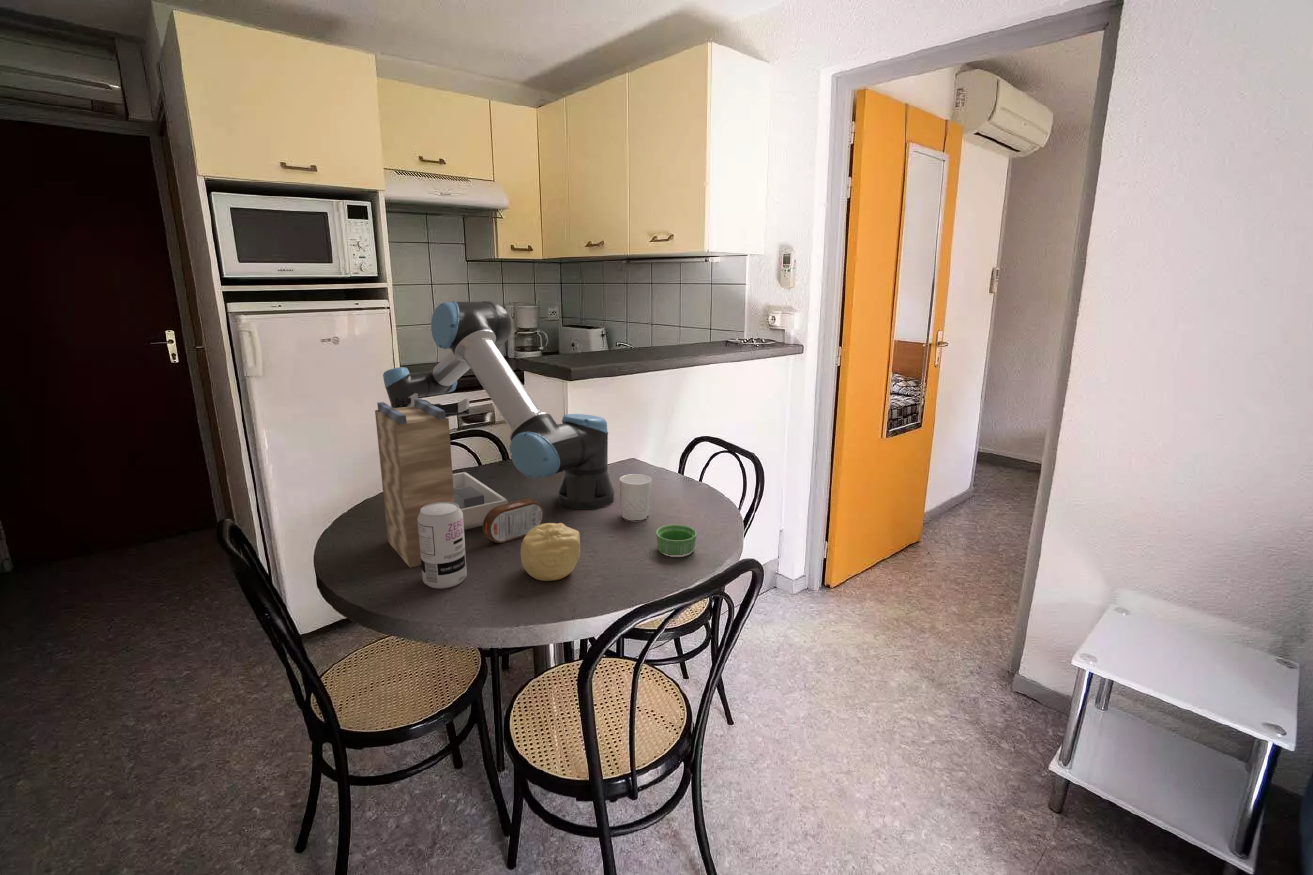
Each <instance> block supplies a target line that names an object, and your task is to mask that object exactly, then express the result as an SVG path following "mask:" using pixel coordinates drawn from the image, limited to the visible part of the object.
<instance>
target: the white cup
mask: <svg viewBox="0 0 1313 875" xmlns="http://www.w3.org/2000/svg"><path fill="white" fill-rule="evenodd" d="M651 492H652V478H651V476H648V475H646V474H641V473H640V474H639V473H631V474H624V475H622V476H621V477H619V495H620V496H619V497H620V508H621V518H622V517H623V518H625V519H628V520H641V519H644V518H646V517H647V516H648V515H649V516H650V506H651V505H650V504H651ZM623 518H622V519H623ZM625 519H624V520H625ZM628 520H627V521H628Z"/></svg>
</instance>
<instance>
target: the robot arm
mask: <svg viewBox="0 0 1313 875" xmlns="http://www.w3.org/2000/svg"><path fill="white" fill-rule="evenodd" d="M512 328H513V322H512V319H511V315H510V314H509V313H508V311H507V310H506V309H505V308H504V306H502V305H500V304H499V303H496V302H493V301H490V300H489V301H487V300H486V301H485V300H483V301H454V300H453V301H450V302H442V303H440V304H438V305H437V306H436V307H435V309H434V310H433V313H432V316H431V319H430V332H431V336H432V339H433V342H434V343H435V345H436V346H437V347H438V348H440V349H443V350H447V349H449V350H451V351H449V353H447V354H446V355H445V356H444V358H442V359H441V360H440V361H439V362H438V363H437V364H436V365H435V366H434V367H433V368H432V369H430V370H429V371H422V372H412V373H411V372H410V371H409V369H408V368H407V367H404V366H400V367H395V368H392V369H391V368H390V369H387V370H386V371H384V372H383V374H382V378H383V382H384V388H385V390H386V394H387V397H388V399H389V402H390V406H391V407H392V408H401V407H411V406H415V405H414V399H418V398H422V397H427V396H428V397H430V396H436V395H437V396H438V395H446V394H448V393H451V392H452V393H453V392H454V391H455V390H456V389H457V385H458V380H459V379H460V378H461V377H462V376H463V375H464V374H466V373H467V372H469V370H470V369H471V371H472V373H473V374H474V376H475V377H476V379H477V380H478V382H479V384H480V385H481V386H482V388H483V389H484V390H485V392H486V394H487V395H488V397H489V398H490V400H491V401H492V402H493V405H494V406H495V408H496V409H497V410H498V412H499V414H500V415H501V416H502V419H503V420H504V422H505V423H506V424H507V425H508V427H509V428H510V430H511V432H510V435H509V440H510V444H509V452H510V453H511V456H510V459H511V460H512V463H513V466H515V468H516V469H517V470H518V471H519V472H520V473H521V474H523V475H524V476H526V477H527V478H531V479H543V478H547V477H551V476H554V475H555V474H559V473H562V472H563V473H562V476H561V480H560V484H559V487H558V489H557V502H558V503H559V504H560V505H562V506H564V507H567V508H571V509H579V510H591V509H598V508H603V507H605V506H608V505H610V504H612V503H613V502H614V501H615V490H614V487H613V484H612V481H611V478H610V475H609V471H608V467H609V466H608V459H609V458H608V457H609V456H608V455H609V454H608V451H609V450H608V448H609V447H608V446H609V445H608V443H609V441H608V440H609V437H608V435H609V431H608V422H607V420H606V419H605V418H603V417H602V416H597V415H594V414H593V415H592V414H583V413H582V414H581V413H567V414H564V415H563V416H562V419H561V422H562V423H559V424H558V423H556V421H555V419H554V418H553V417H552V414H550V413H549V412H543V411H541V410H540V408H539V407H538V405H537V404H536V402H535V401H534V400H533V398H532V397H531V395H530V393H529V391H527V389H526V387H525V386H524V385H523V383H522V382H521V381H520V379H519V377H518V376H517V375H516V373H515V372H514V370H513V369H512V367H511V366H510V364H509V363H508V361H507V360H506V359H505V357H504V355H503V354H502V353H501V351H500V350H499V348H501V346H503V345H504V344H505V342H507V340H508V339H509V338H510V336H511V333H512ZM423 400H424V401H426V402H428V403H430V404H432V405H434V406H436V407H438V408H440V409H442V410H444V411H445V416H446V417H447V418H450V417H454V416H462V415H469V414H470V398H465V399H463V400H461V401H458V402H457V403H453V404H442V403H431V402H429V401H428V400H426V399H423ZM613 500H614V501H613ZM611 502H612V503H611Z"/></svg>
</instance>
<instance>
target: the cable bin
mask: <svg viewBox="0 0 1313 875" xmlns="http://www.w3.org/2000/svg"><path fill="white" fill-rule="evenodd" d="M452 474H453V487H454V488H455V489H461V488H466V487H472V488H474V489H475V490H477V491H478V492H480V493H481V494H483V495H484V504H482V505H477V506H473V507H468V508H463V509H461V511H462V512H463V523H464V531H466V530H468V529H474V528H477V527H483V521H484V518H485V517H486V515H487V513H488V512H489V511H490V510H491V509H493V508H494V507H496V506H499V505H503V504H507V503H509V500H508V499H507V498H506V497H504V496H502V495H501V494H499V493H498V492H496V491H494V490H493V489H492V488H490V487H488V485H486V484H484V483H483V482H481V481H480V480H478V479H477V478H475V477H474V476H472V475H471V474H469V473H467V472H466V471H463V472H458V473H452Z"/></svg>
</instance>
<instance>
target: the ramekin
mask: <svg viewBox="0 0 1313 875" xmlns="http://www.w3.org/2000/svg"><path fill="white" fill-rule="evenodd" d="M655 535H656V536H655V537H656V540H657V541H656V542H657V550H658V549H659V550H660V552H662V553H665V554H668V555H683V554H687V553H690V552H691V551H693V549H694V550H695V548H694V547H695V546H696V538H697V535H698V532H697V531H696V529H694V528H693V527H691V526H689V525H683V524H667V525H663V526H660V527H658V528H657V529H656V531H655ZM660 552H659V553H660Z"/></svg>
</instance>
